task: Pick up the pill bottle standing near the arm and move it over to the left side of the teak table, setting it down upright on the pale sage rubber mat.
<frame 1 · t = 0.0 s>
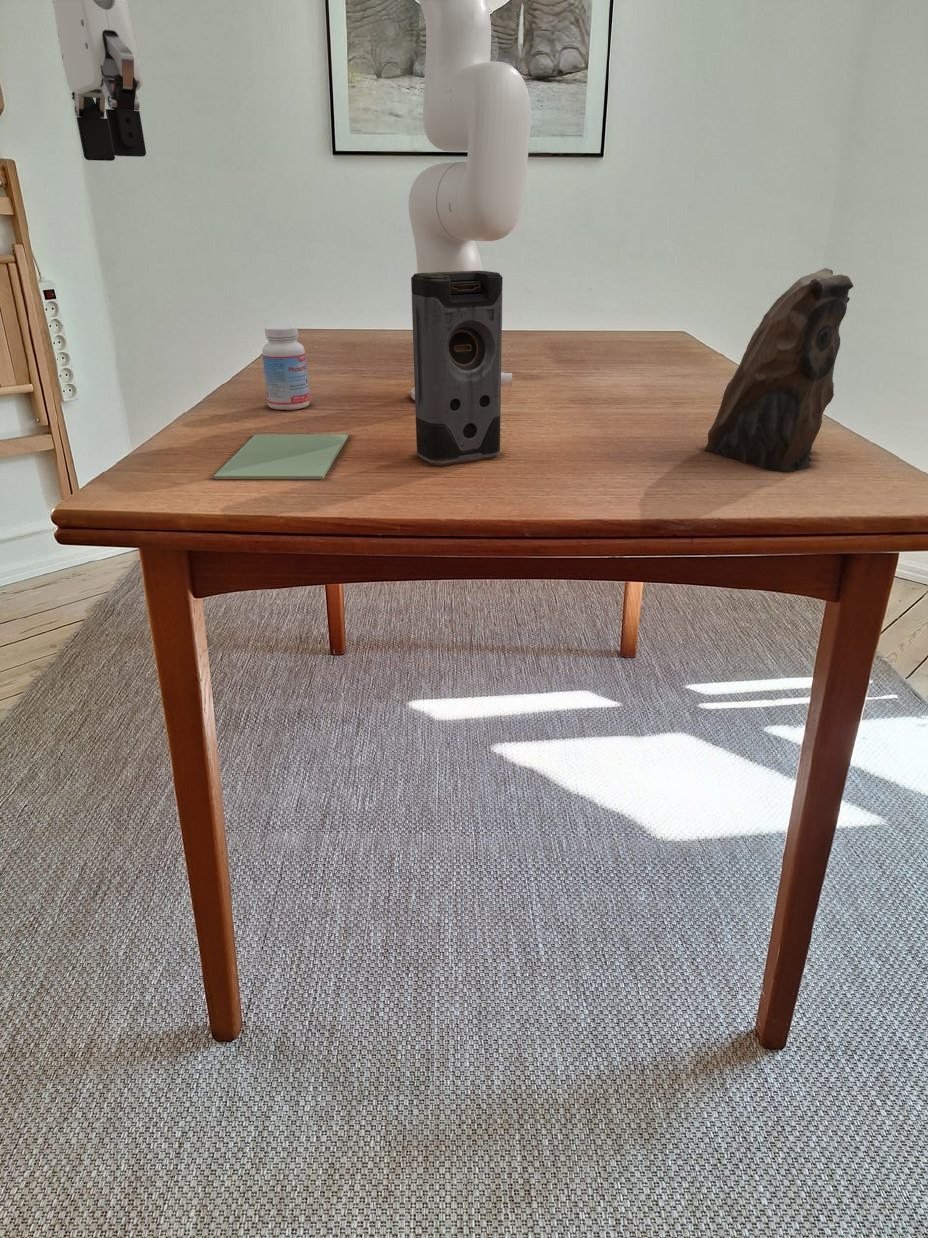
hand: (114, 158, 86), 31 cm above the table, tool pointing down, fingers open, 9 cm apart
electronic device: (458, 458, 96), on the table
owl: (762, 455, 96), on the table
side mat: (286, 456, 96), on the table
pill bottle: (289, 407, 121), on the table
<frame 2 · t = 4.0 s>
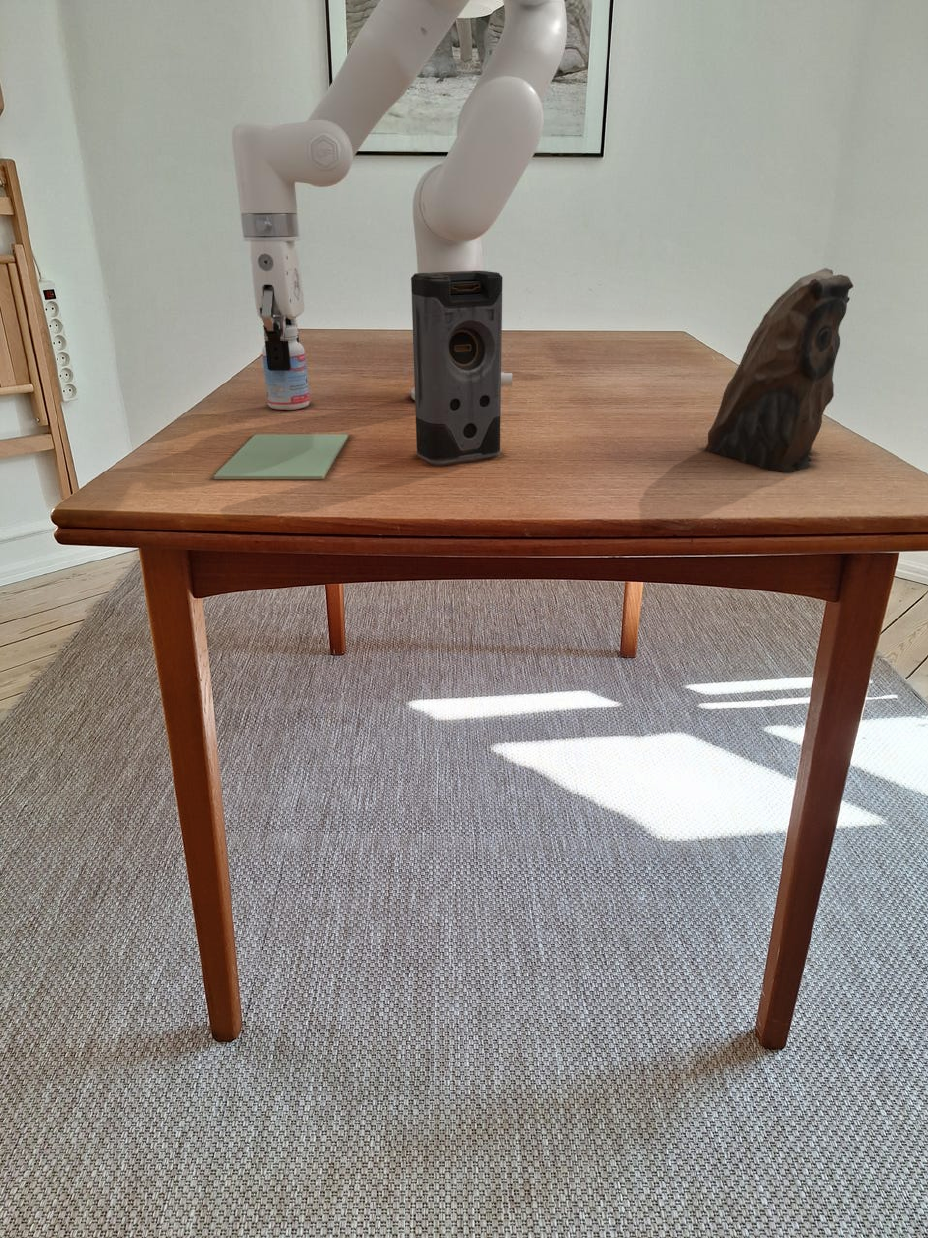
hand: (284, 364, 118), 6 cm above the table, tool pointing down, fingers closed on pill bottle, 6 cm apart
pill bottle: (289, 407, 121), on the table, touching gripper
everything else where it was.
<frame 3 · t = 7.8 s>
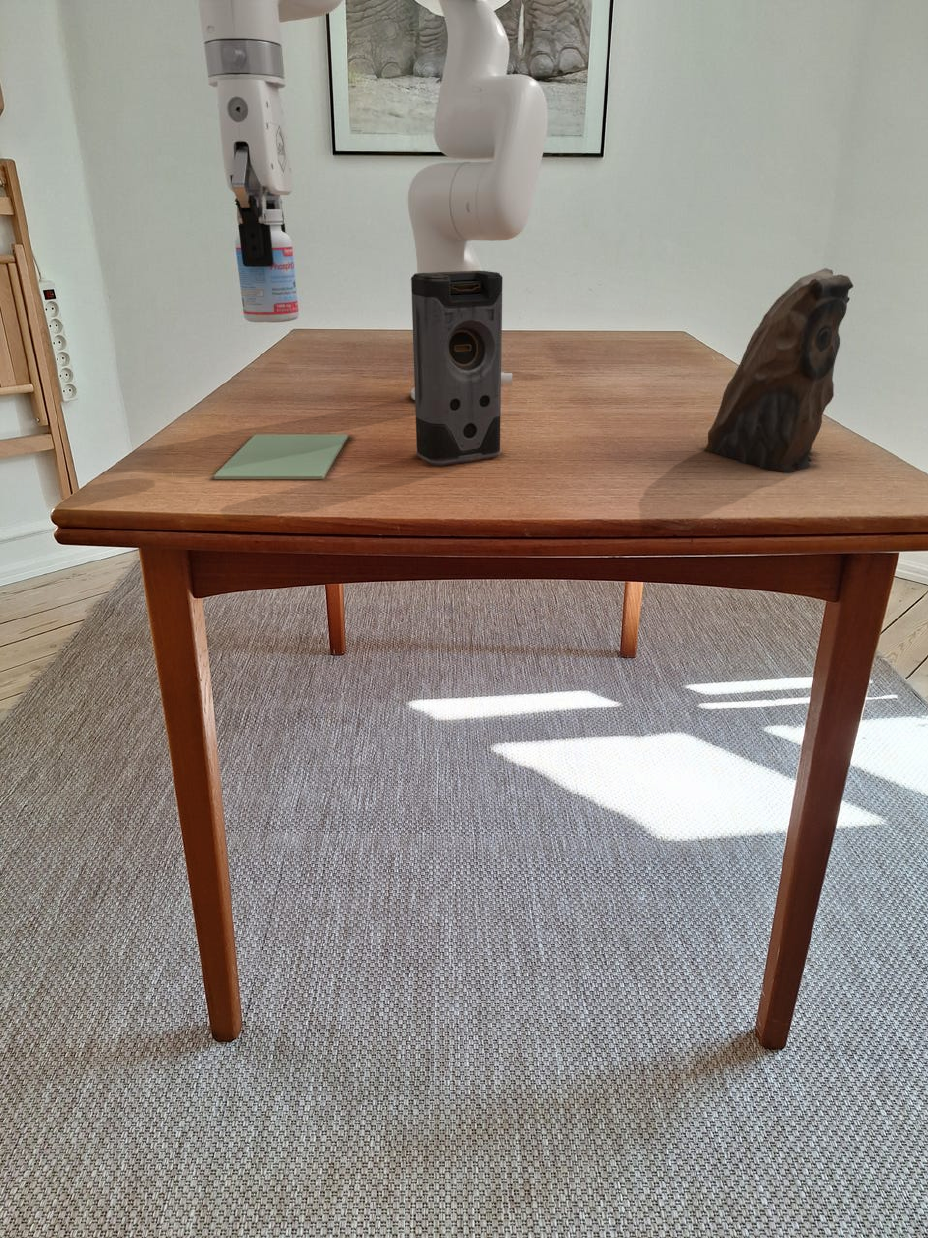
hand: (266, 262, 89), 21 cm above the table, tool pointing down, fingers closed on pill bottle, 6 cm apart
pill bottle: (272, 321, 92), point 15 cm above the table, touching gripper
everything else where it was.
when the fingers open (6 cm above the table, at t = 11.7 s): pill bottle stays where it is, resting on side mat.
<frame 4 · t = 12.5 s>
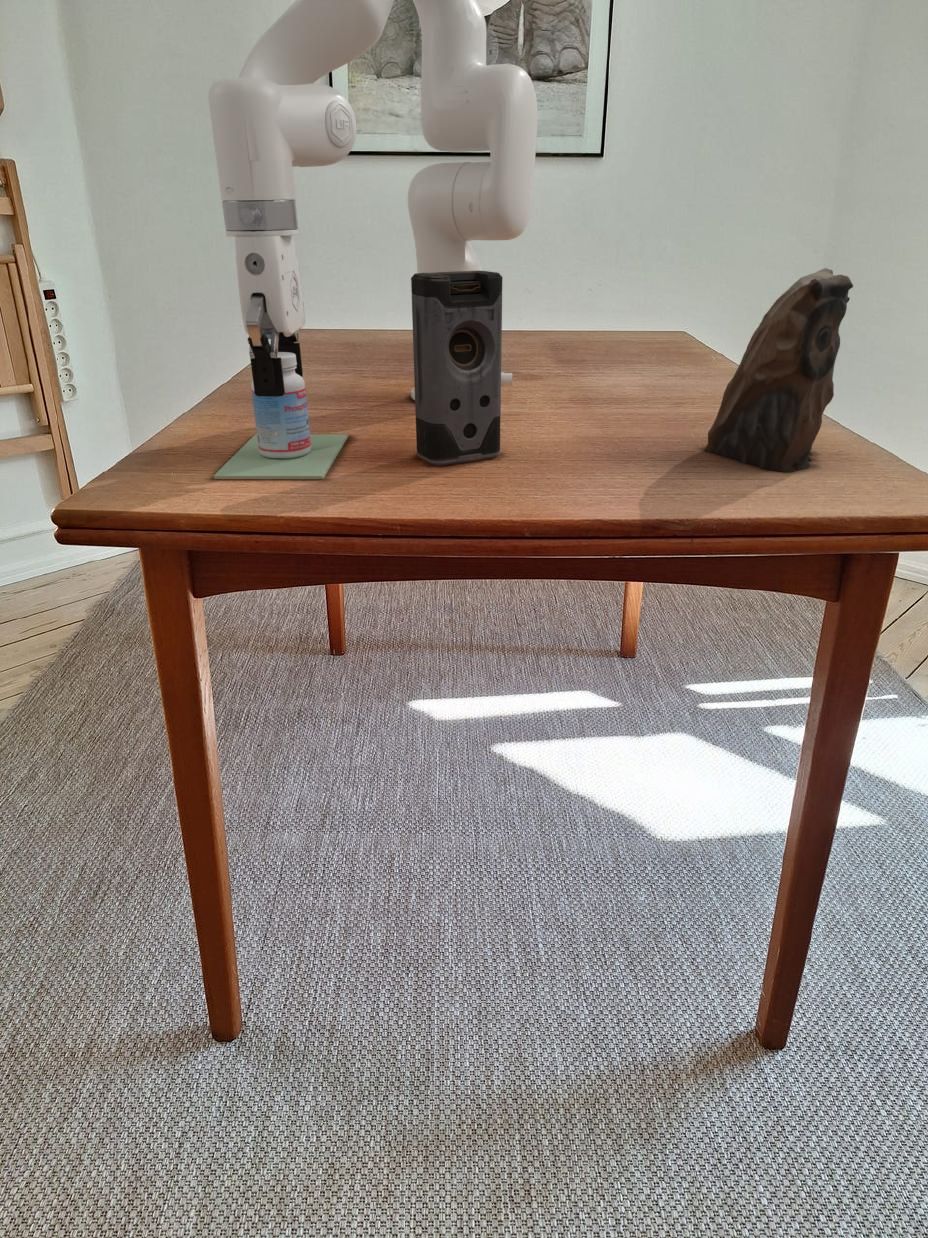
hand: (280, 386, 93), 8 cm above the table, tool pointing down, fingers open, 9 cm apart
pill bottle: (286, 454, 96), resting on side mat
everything else where it was.
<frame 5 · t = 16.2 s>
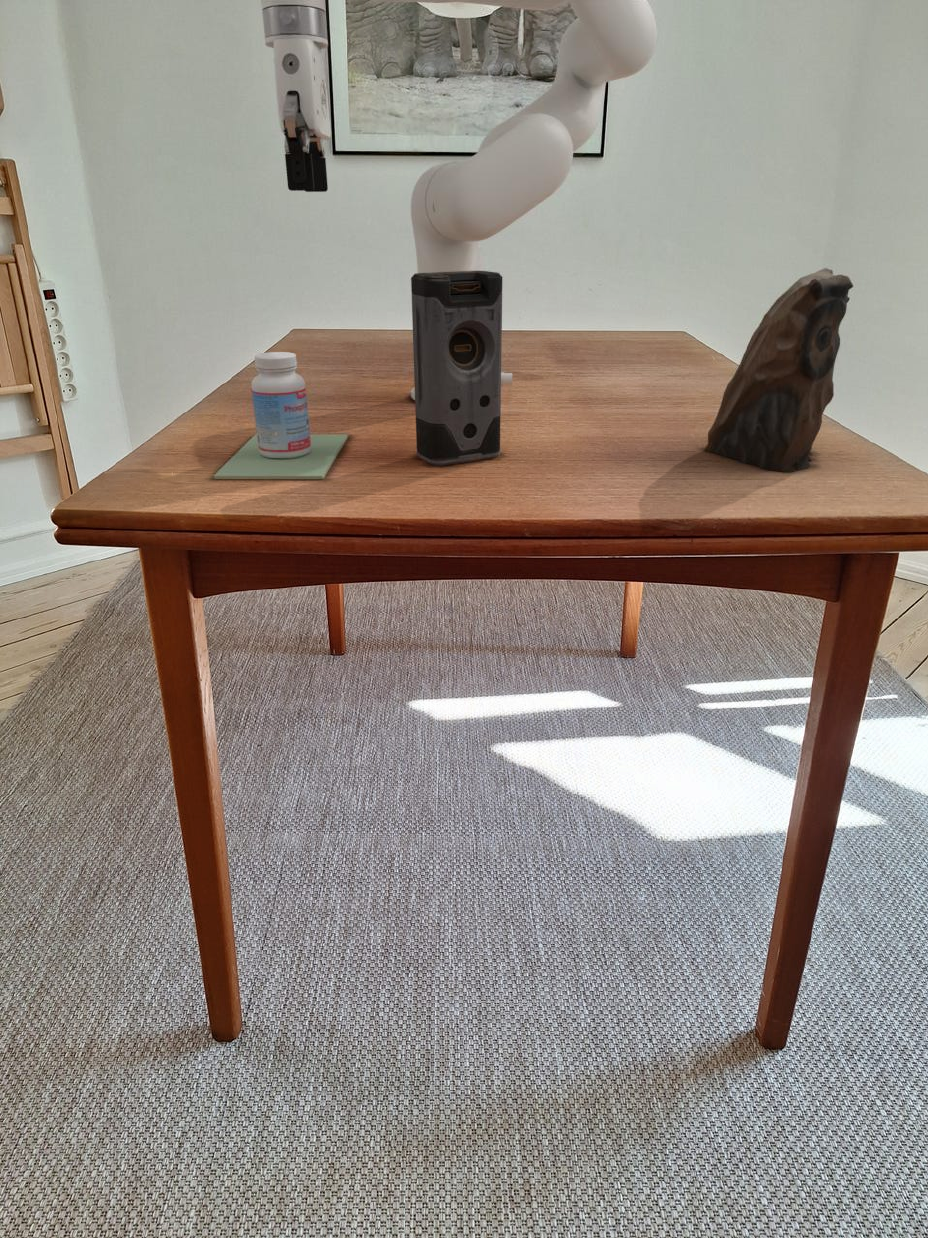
hand: (309, 190, 106), 28 cm above the table, tool pointing down, fingers open, 9 cm apart
nothing on the table moved.
at the end: pill bottle inside the target area on the side mat (0.1 cm from its centre), point 0.2 cm above the side mat's base; pill bottle tilted 0°; the gripper is holding nothing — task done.
